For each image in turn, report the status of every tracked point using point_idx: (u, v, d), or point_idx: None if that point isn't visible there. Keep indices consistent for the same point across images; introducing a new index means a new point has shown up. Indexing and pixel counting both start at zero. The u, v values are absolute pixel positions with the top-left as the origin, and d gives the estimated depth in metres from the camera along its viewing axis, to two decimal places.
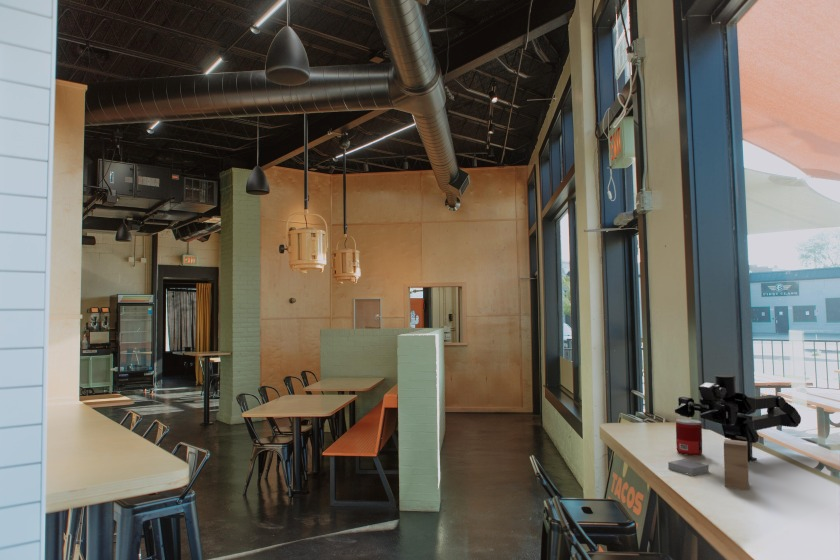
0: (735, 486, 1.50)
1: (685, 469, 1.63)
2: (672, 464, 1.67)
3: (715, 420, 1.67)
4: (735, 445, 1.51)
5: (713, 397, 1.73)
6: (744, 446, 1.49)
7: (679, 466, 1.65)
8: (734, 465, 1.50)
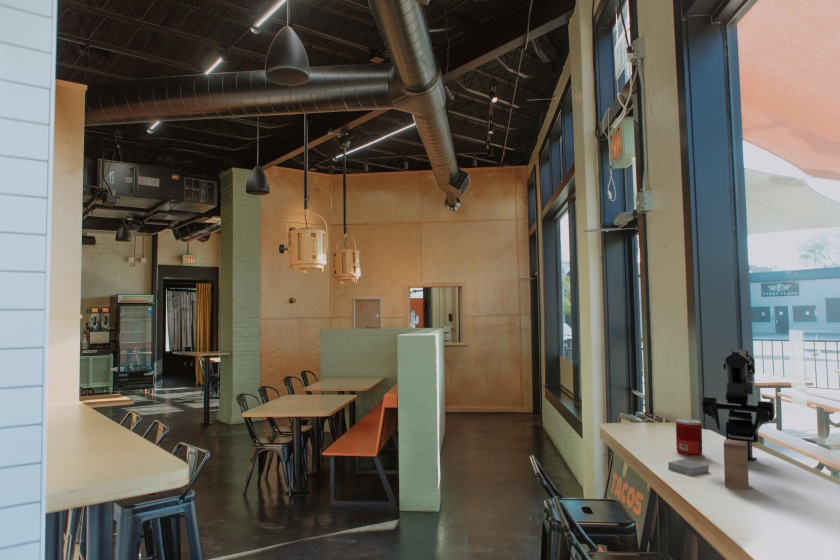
0: (735, 486, 1.50)
1: (685, 469, 1.63)
2: (672, 464, 1.67)
3: (761, 424, 1.61)
4: (735, 445, 1.51)
5: (744, 396, 1.63)
6: (744, 446, 1.49)
7: (679, 466, 1.65)
8: (734, 465, 1.50)
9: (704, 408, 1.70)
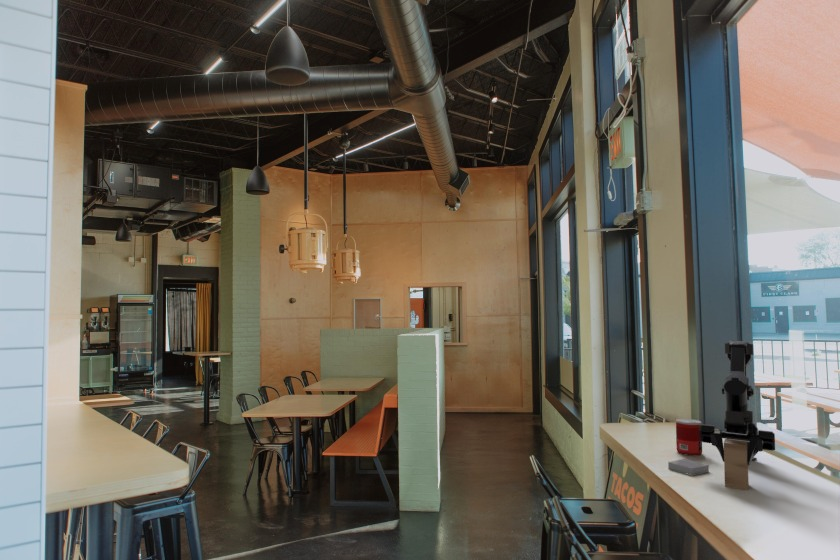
0: (735, 486, 1.50)
1: (685, 469, 1.63)
2: (672, 464, 1.67)
3: (754, 454, 1.53)
4: (735, 445, 1.51)
5: (743, 425, 1.54)
6: (744, 446, 1.49)
7: (679, 466, 1.65)
8: (734, 465, 1.50)
9: (701, 436, 1.61)
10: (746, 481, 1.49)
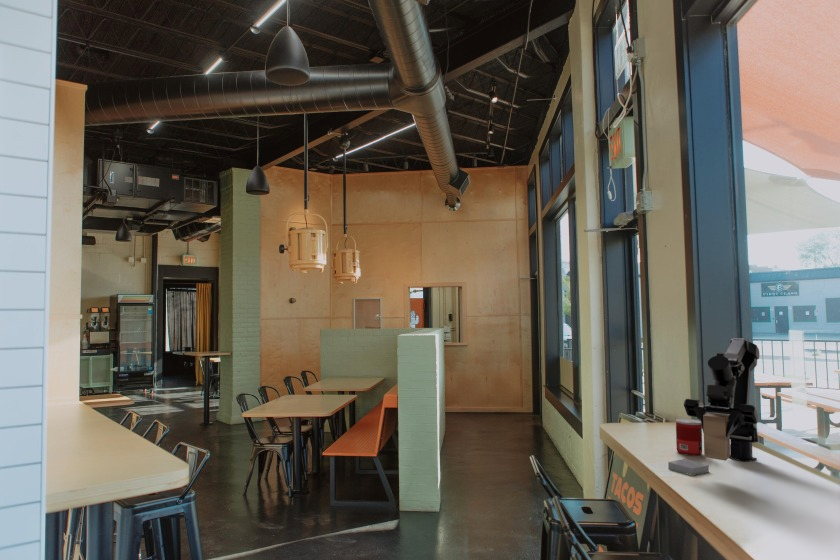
0: (714, 457, 1.55)
1: (685, 469, 1.63)
2: (672, 464, 1.67)
3: (736, 427, 1.57)
4: (714, 417, 1.56)
5: (725, 399, 1.59)
6: (722, 418, 1.54)
7: (679, 466, 1.65)
8: (713, 437, 1.56)
9: (687, 410, 1.67)
10: (724, 452, 1.54)
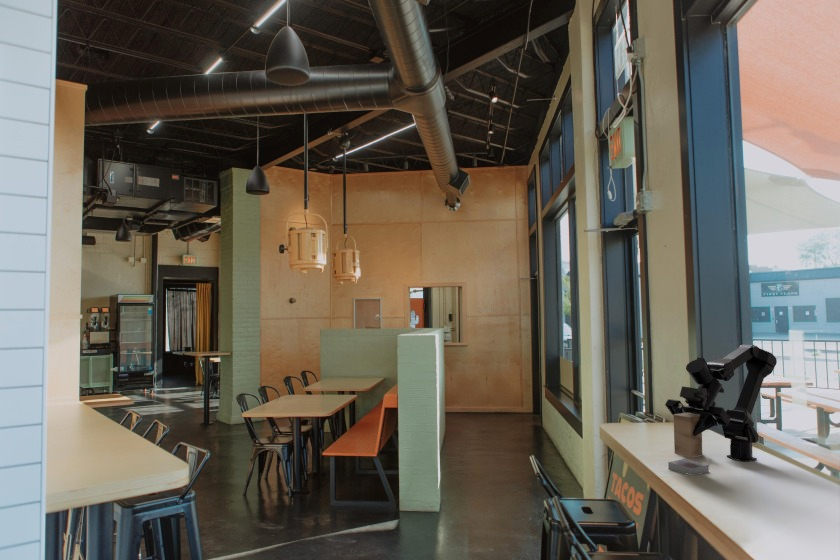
0: (682, 453, 1.66)
1: (685, 469, 1.63)
2: (672, 464, 1.67)
3: (707, 427, 1.65)
4: (681, 417, 1.67)
5: (697, 400, 1.68)
6: (688, 418, 1.65)
7: (679, 466, 1.65)
8: (681, 435, 1.66)
9: (670, 410, 1.78)
10: (690, 449, 1.64)
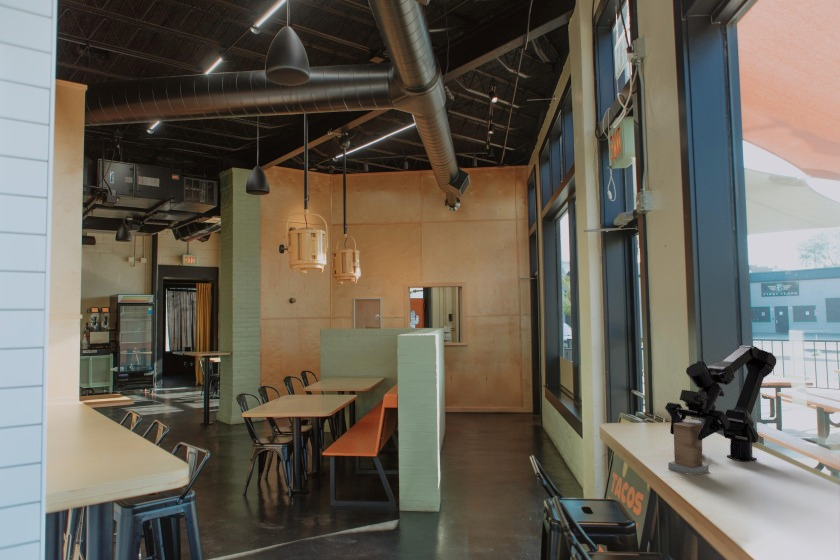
0: (682, 463, 1.66)
1: (685, 469, 1.63)
2: (672, 464, 1.67)
3: (712, 432, 1.64)
4: (681, 426, 1.66)
5: (697, 403, 1.68)
6: (688, 427, 1.64)
7: (679, 466, 1.65)
8: (681, 444, 1.66)
9: None
10: (690, 459, 1.64)
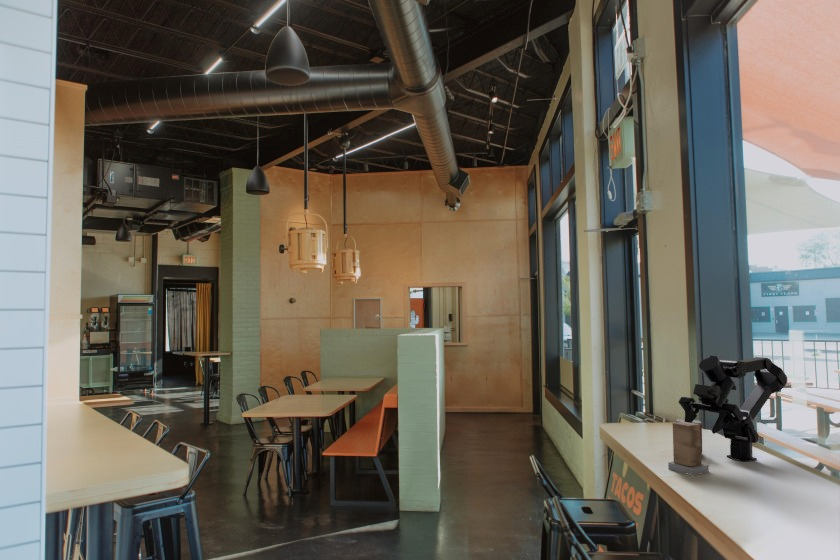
0: (681, 462, 1.66)
1: (685, 469, 1.63)
2: (672, 464, 1.67)
3: (725, 425, 1.67)
4: (680, 425, 1.67)
5: (711, 397, 1.71)
6: (687, 426, 1.65)
7: (679, 466, 1.65)
8: (680, 443, 1.67)
9: (683, 407, 1.81)
10: (689, 458, 1.64)
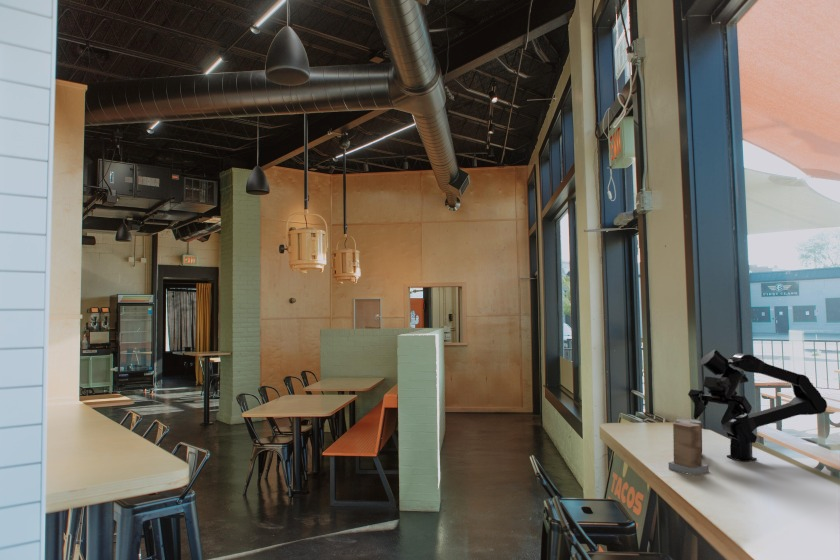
0: (681, 463, 1.66)
1: (685, 469, 1.63)
2: (672, 464, 1.67)
3: (734, 416, 1.72)
4: (681, 426, 1.66)
5: (720, 389, 1.76)
6: (688, 427, 1.64)
7: (679, 466, 1.65)
8: (680, 444, 1.66)
9: (693, 399, 1.86)
10: (689, 459, 1.64)
